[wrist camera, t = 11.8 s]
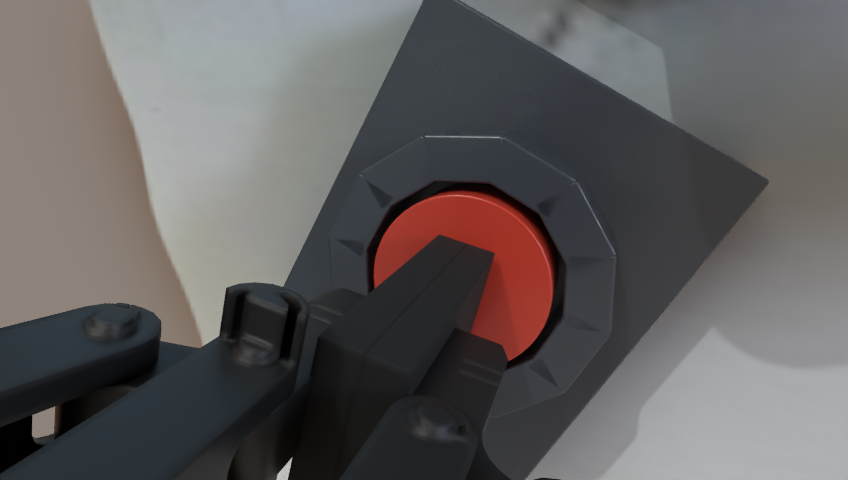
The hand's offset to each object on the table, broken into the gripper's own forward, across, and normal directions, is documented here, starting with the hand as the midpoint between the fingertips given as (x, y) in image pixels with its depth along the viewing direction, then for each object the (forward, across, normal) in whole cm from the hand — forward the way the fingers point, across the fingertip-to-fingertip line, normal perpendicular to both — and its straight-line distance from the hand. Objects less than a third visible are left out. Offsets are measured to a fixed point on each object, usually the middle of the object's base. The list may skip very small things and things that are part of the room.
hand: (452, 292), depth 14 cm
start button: (+2, 0, 0) cm, 2 cm away
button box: (+5, 0, 0) cm, 5 cm away
